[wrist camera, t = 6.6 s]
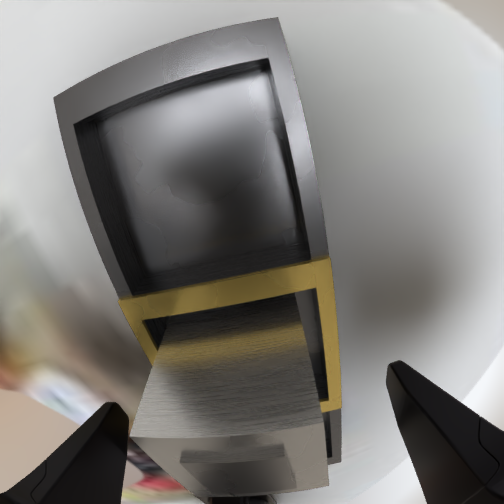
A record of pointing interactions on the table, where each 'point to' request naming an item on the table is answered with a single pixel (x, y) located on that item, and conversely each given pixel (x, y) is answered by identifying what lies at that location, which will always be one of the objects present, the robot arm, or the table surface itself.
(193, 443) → the block
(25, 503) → the robot arm
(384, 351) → the table surface
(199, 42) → the rail
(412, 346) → the table surface
